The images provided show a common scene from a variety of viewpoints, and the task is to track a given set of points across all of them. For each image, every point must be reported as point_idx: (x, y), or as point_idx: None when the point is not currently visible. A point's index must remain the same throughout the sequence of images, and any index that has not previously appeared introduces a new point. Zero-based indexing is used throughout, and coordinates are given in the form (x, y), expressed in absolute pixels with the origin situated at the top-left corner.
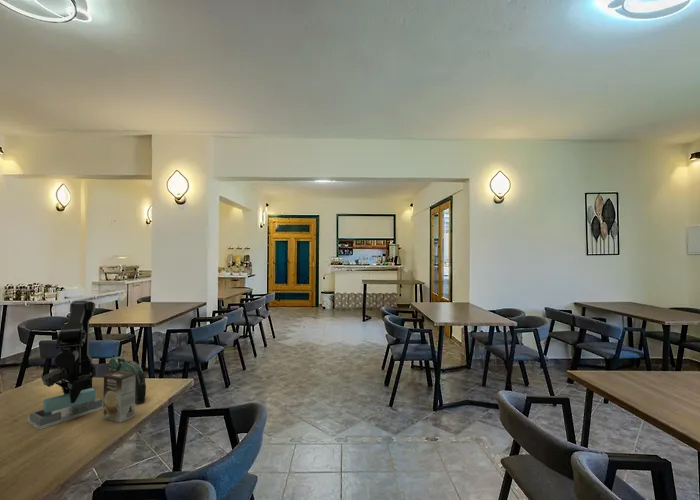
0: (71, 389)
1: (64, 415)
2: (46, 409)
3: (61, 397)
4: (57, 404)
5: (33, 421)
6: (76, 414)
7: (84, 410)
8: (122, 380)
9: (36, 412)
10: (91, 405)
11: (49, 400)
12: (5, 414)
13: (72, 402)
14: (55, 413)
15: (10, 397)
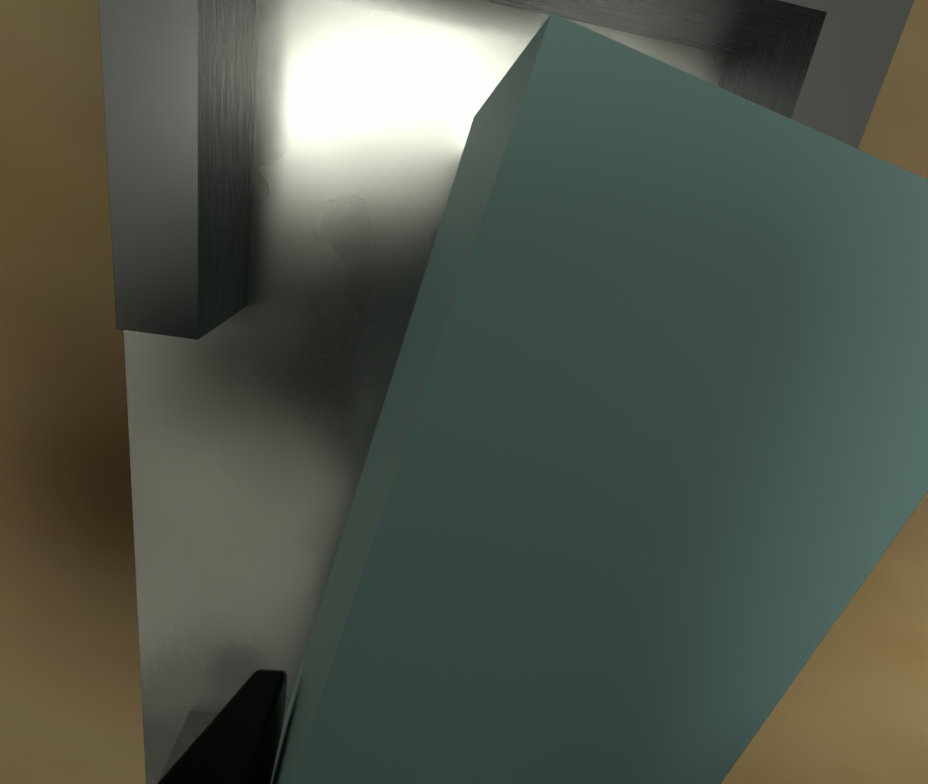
0: None
1: (301, 408)
2: (477, 130)
3: (388, 721)
4: (385, 441)
5: None
6: (146, 517)
7: (218, 648)
8: None
9: (803, 60)
10: (165, 773)
11: (550, 273)
12: None
13: (241, 696)
14: (180, 225)
15: None
